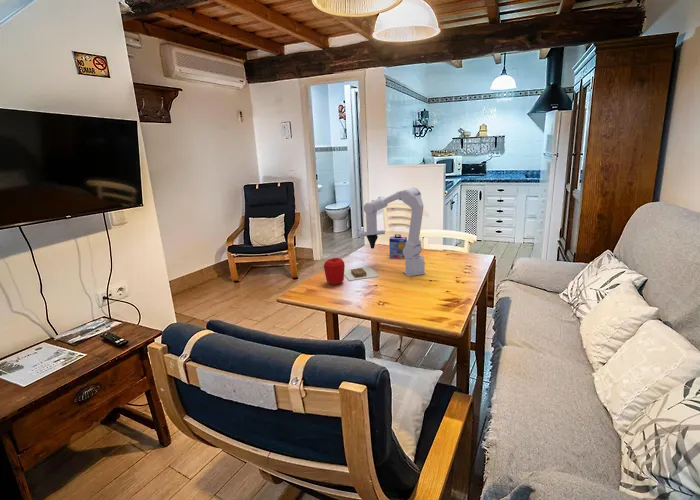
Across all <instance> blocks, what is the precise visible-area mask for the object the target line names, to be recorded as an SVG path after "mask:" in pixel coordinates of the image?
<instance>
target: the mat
mask: <svg viewBox="0 0 700 500" xmlns="http://www.w3.org/2000/svg"><path fill="white" fill-rule="evenodd" d="M358 268H359V267H357V268H356V269H358ZM361 268H362V269H363V270H364V271H365V272H366V275H367V276H364V277H357V278H355V277H354V276H353V274H352V273H351V269H352V268H351V269H344V278H346V279H347V280H348V281H349V282H350V281H351V282H353V281H359V280H366V279H373V278H377V277H378V278H379V277H380V276H379V274H377V272H376V271H374V270H373V268H371V267H370V266H365V267H361Z"/></svg>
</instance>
